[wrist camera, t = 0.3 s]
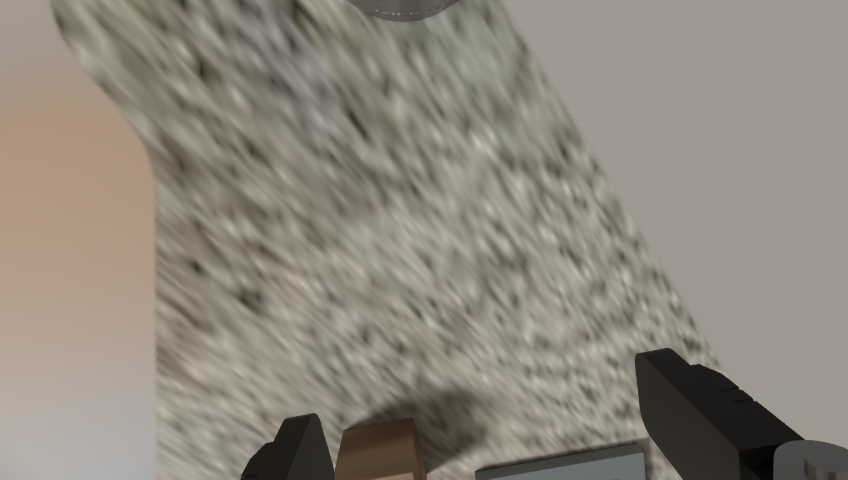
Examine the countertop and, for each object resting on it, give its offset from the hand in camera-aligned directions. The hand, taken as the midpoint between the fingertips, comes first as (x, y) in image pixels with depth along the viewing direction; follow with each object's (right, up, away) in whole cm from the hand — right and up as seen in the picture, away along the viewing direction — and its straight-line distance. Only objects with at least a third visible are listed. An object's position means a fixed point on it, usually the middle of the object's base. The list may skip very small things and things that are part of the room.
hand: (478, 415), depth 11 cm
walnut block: (-4, -11, +21) cm, 24 cm away
